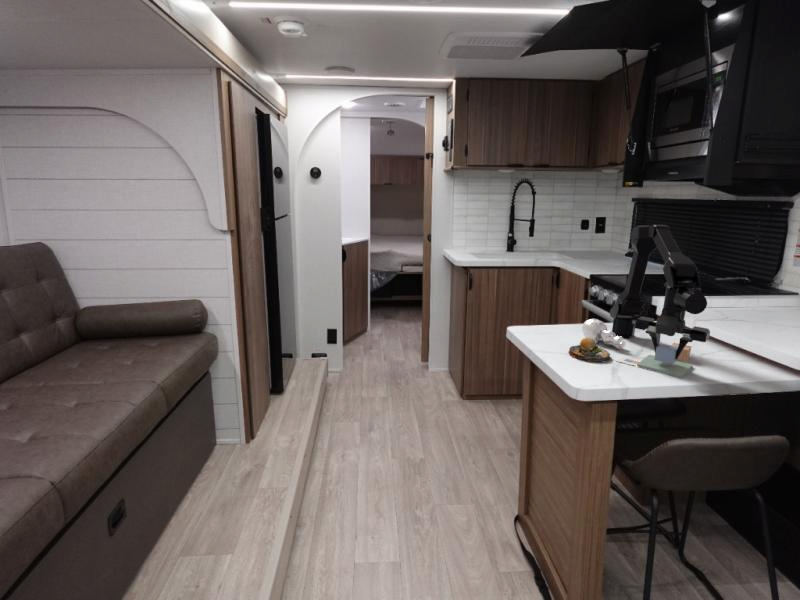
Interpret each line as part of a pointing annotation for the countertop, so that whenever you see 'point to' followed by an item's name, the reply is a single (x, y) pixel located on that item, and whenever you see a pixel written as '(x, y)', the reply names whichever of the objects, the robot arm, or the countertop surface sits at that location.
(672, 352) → the brick blue
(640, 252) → the robot arm
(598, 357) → the food on plate
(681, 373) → the build plate
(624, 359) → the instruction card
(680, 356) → the brick orange
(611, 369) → the countertop surface
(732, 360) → the countertop surface
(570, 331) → the countertop surface
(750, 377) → the countertop surface
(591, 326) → the figurine
